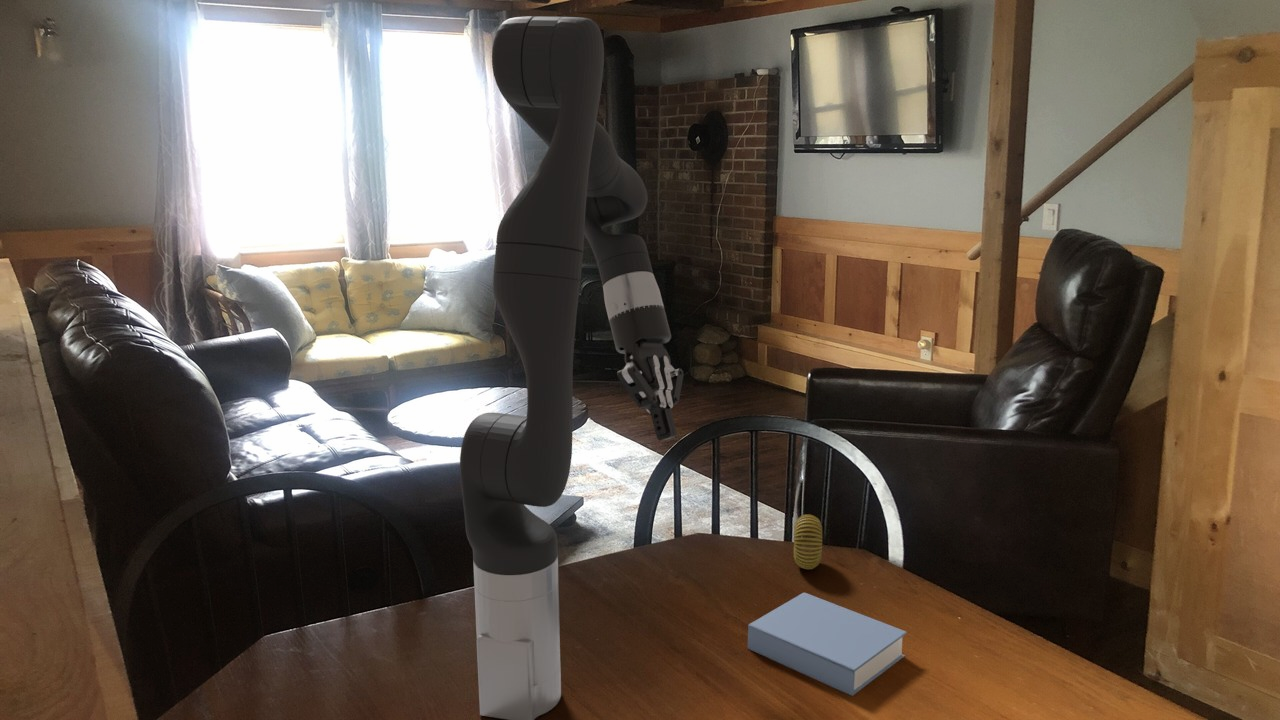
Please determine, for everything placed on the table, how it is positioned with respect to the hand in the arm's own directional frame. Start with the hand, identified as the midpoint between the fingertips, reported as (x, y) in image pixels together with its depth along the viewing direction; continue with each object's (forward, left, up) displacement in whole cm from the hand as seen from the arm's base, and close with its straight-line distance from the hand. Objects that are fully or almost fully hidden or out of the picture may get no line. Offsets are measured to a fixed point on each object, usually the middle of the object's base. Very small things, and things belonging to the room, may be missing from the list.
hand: (667, 438), depth 124 cm
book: (-2, -15, -23) cm, 27 cm away
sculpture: (+18, -17, -24) cm, 35 cm away
